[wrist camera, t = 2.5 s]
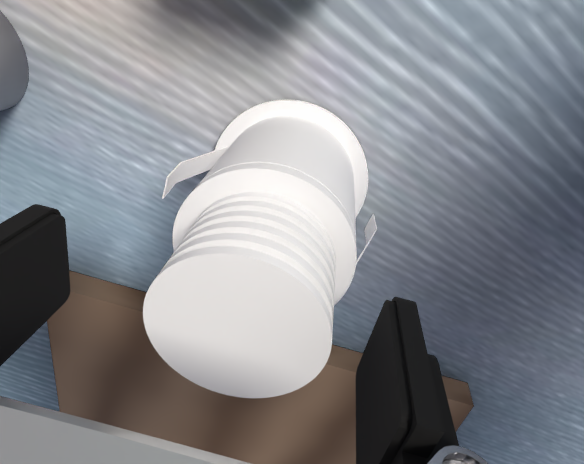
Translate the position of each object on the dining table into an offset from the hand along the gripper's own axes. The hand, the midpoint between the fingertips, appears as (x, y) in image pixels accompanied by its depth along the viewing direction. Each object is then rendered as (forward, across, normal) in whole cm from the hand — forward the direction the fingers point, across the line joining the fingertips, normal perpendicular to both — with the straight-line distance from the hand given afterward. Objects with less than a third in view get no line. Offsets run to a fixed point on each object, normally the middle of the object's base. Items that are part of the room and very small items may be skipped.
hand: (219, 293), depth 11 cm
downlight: (+8, -1, -1) cm, 8 cm away
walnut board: (+8, -1, +16) cm, 18 cm away
